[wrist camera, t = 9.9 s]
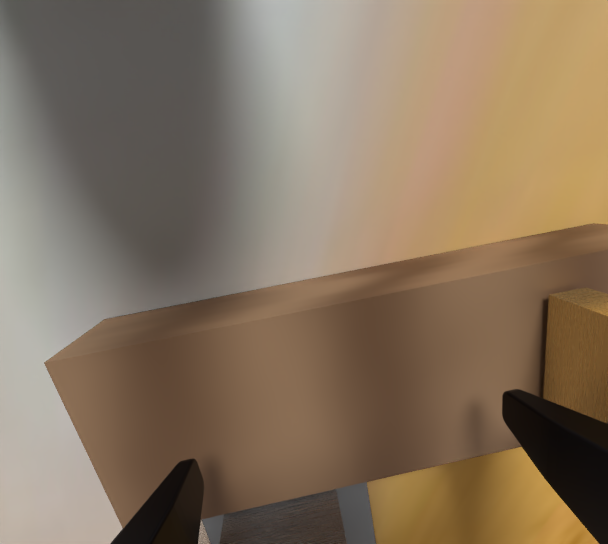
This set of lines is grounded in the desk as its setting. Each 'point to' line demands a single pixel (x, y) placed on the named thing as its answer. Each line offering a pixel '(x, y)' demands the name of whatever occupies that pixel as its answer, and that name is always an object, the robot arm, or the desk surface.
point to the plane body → (322, 373)
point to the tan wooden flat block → (578, 352)
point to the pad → (352, 513)
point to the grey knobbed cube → (287, 522)
